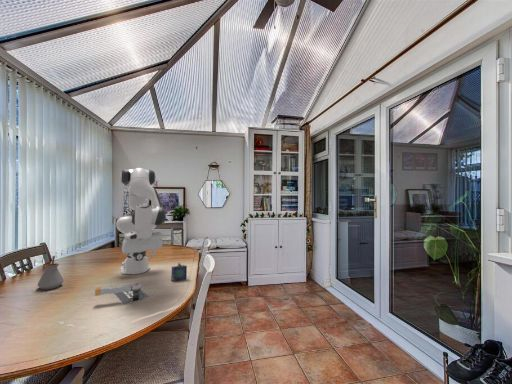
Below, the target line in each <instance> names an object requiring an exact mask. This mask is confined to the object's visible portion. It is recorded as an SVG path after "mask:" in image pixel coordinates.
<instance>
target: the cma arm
mask: <svg viewBox="0 0 512 384" xmlns="http://www.w3.org/2000/svg"><path fill="white" fill-rule="evenodd" d="M139 290H142V284H141V283H133V284H127V285H117V286H108V287H107V286H106V287H102V286H101V287H96V289H94V296H95V297H97V296H102V295H109V294H114V293H120V292H129V291H133V292H135V291H139Z"/></svg>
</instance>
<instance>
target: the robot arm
mask: <svg viewBox="0 0 512 384" xmlns="http://www.w3.org/2000/svg"><path fill="white" fill-rule="evenodd" d="M156 178H157V175H156V174H155V171H154V170H153V169H152V170H150V169H144V168H142V167H136V168H131V169H129V168H124V169H122V170H121V172H120V174H119V179H120V181H121V183H122V184H124V185H127V186H128V185H129V190H128V207H129V209H130V210H132V212H131V213H130V214H131V215H124V216H119V217H118V219H117V221H116V224H115V226H116V229H117V230H118V231H119V232H121V234H123V235H124V239H123V240H122V245H121V252H122V254H124V255H126V258H125V259H124V261H122V262H121V267H120V273H121V275H137V274H139V275H140V274H142V273H146V272H147V271H148V270H150V269H151V266H149V258H150V259H151V258H154V255H155V253H156V251H157V250H160V249H162V248H163V240H162V239H163V234H162V233H161V232H159V231H158V232H153V230H154V229H155V228H156V227H157V226H162V225H163V224H164V223H165V222H166V220H167V214H166V211H165V209H164V207H163V204H162V202H161V199H160V195H159V193H158V190H157V189H156V188H154V187H153V186H152V185H153V184H155V183H156V182H155V181H156V180H157V179H156ZM147 199H148V200H149V201H151V202H152V205H153V207H154V208H152V205H151V204H148V203H147ZM147 251H152V252H151V253H150V254H149V257H148V256H147Z"/></svg>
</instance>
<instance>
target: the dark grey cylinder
mask: <svg viewBox="0 0 512 384" xmlns="http://www.w3.org/2000/svg"><path fill="white" fill-rule="evenodd" d="M133 300H134V302H136V301H135V300H138V301H140V300H139V291H135V292H133Z"/></svg>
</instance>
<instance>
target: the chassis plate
mask: <svg viewBox="0 0 512 384" xmlns="http://www.w3.org/2000/svg"><path fill="white" fill-rule="evenodd" d="M113 294H114V295H115V296H116V297H117V299H119V301H120V302H121V303H122V304H123V305H127V304H131V303H134V302H137V301H140V300H141V301H142V300H145V299H149V298H150V296H149V295H148V294H147V293H146V292H144V291H143V290H142V289H141V290H139V300H135V301H134V300H133V298H130V299H129V298H128V297H127V296H126V295H125V294H124V293H123V292H120V293H113ZM131 294H132V293H131ZM127 295H128V294H127Z"/></svg>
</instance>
